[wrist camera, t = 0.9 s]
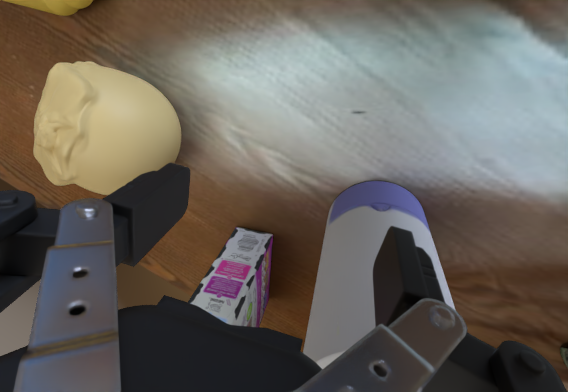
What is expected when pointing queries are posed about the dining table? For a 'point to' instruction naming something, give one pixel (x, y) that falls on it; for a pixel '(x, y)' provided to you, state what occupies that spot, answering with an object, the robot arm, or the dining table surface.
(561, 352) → the pouch
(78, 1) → the yellow curved piece
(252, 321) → the candy bar box
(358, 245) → the container
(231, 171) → the dining table surface
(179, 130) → the sculpture
